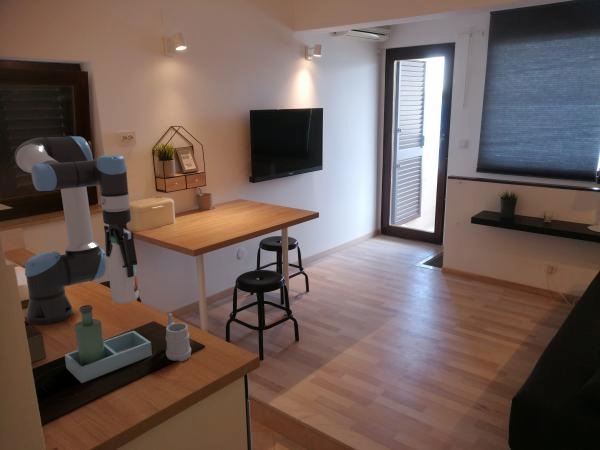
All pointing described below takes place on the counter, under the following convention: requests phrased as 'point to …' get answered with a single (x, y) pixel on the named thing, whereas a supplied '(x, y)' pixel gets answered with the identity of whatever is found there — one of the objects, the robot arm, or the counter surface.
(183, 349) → the mug
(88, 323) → the green bottle
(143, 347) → the crate
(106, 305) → the counter surface
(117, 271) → the milk bottle
